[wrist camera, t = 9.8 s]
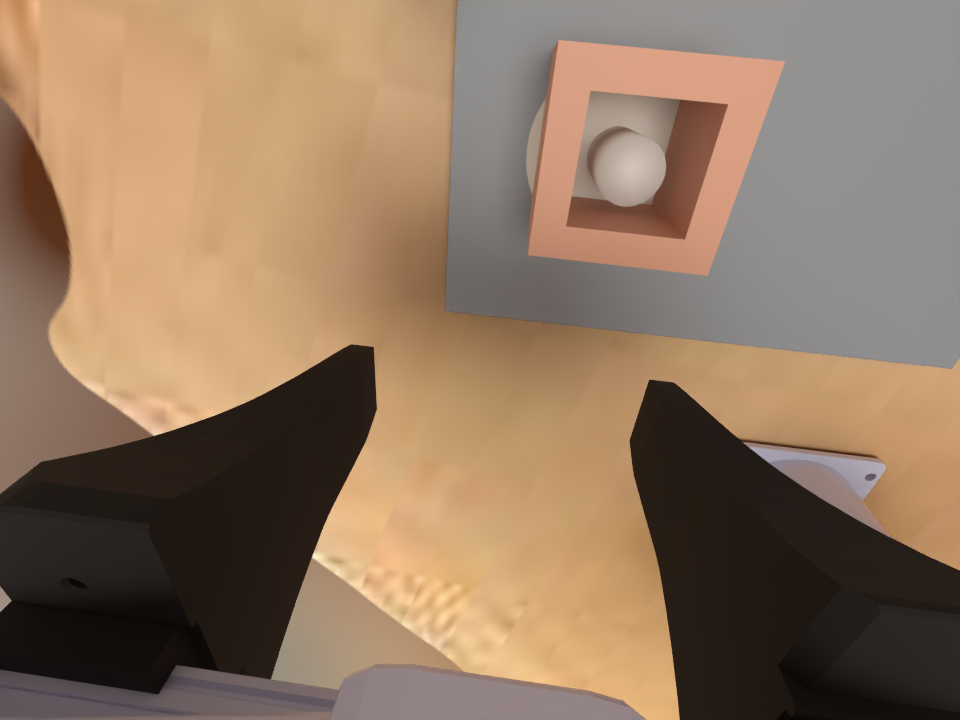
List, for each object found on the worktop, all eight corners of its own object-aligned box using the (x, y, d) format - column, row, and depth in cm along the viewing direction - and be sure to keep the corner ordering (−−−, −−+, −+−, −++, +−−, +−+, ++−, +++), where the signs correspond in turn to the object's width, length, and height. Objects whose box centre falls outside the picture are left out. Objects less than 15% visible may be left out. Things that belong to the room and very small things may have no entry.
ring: (670, 234, 18) (707, 275, 14) (529, 218, 18) (527, 255, 14) (721, 66, 15) (785, 61, 11) (552, 50, 15) (558, 39, 11)
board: (931, 354, 21) (1026, 419, 17) (448, 300, 22) (429, 349, 18) (1211, -55, 14) (1497, -112, 10) (467, -108, 15) (442, -181, 10)
